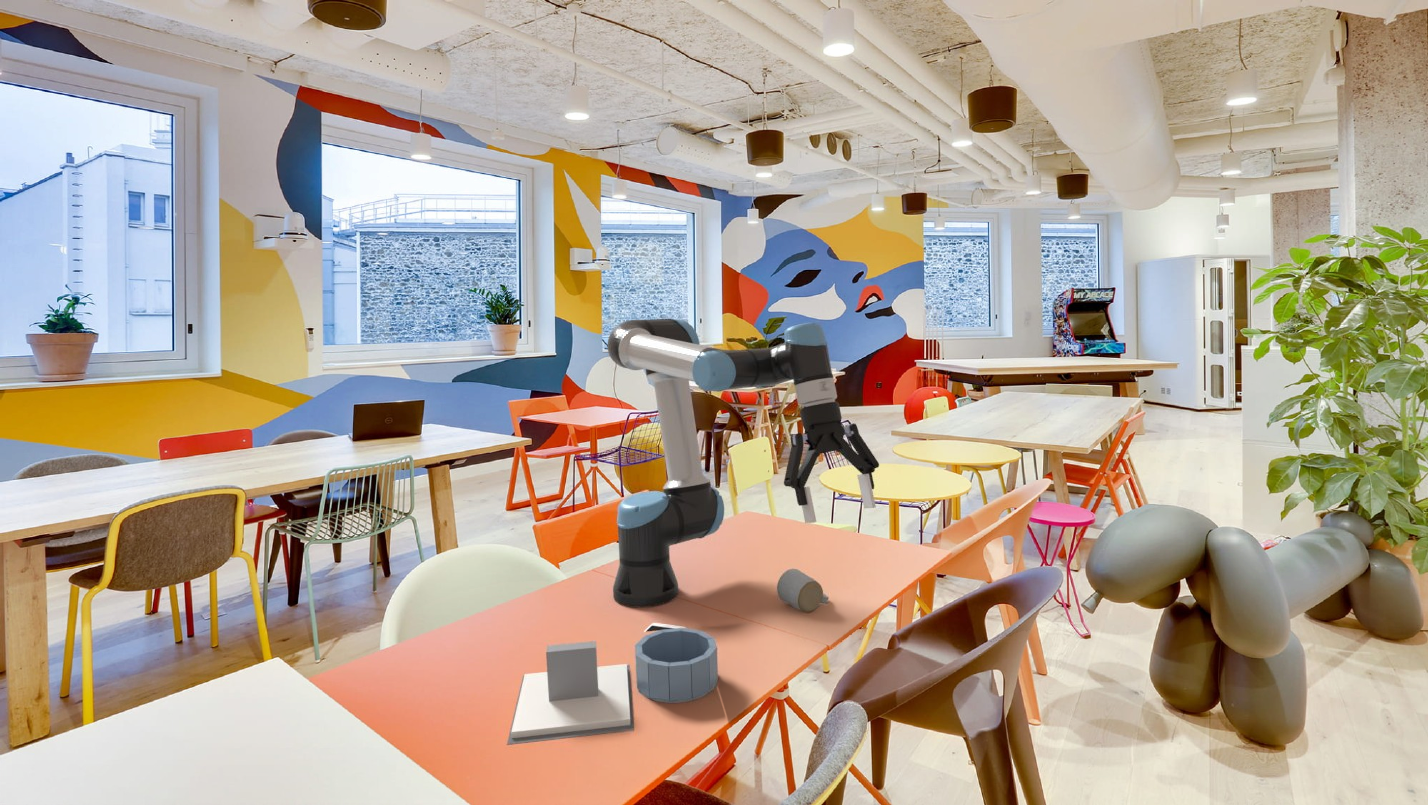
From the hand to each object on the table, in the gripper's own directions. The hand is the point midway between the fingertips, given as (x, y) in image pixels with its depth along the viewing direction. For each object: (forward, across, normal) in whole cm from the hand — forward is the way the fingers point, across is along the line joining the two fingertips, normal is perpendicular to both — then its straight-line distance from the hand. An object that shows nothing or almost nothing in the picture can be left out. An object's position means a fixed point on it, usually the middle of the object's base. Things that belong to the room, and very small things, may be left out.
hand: (841, 515), depth 131 cm
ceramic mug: (+21, +4, +27) cm, 34 cm away
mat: (+21, -52, +11) cm, 57 cm away
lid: (+21, -52, +11) cm, 57 cm away
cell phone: (+19, -32, +26) cm, 46 cm away
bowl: (+23, -34, +9) cm, 42 cm away
